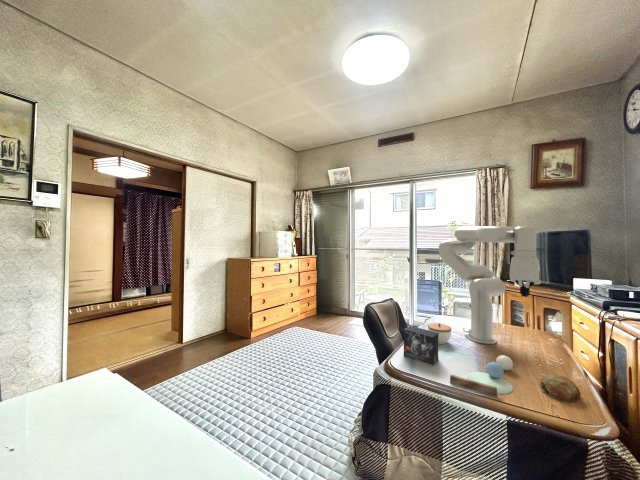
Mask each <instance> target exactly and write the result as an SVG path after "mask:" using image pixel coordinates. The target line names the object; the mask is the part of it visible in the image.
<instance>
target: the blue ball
mask: <svg viewBox="0 0 640 480" xmlns="http://www.w3.org/2000/svg"><path fill="white" fill-rule="evenodd" d="M485 370H486V373H488V374H489V375H490V376H491V377H493V378H502V377H503V376H504V375H505V374H504V372H505V370H503V368H502V367H501V365H499V364H498V363H496V361H495V362H494V361H491V362H488V363H487V364H486V366H485Z"/></svg>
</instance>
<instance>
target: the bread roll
mask: <svg viewBox="0 0 640 480" xmlns="http://www.w3.org/2000/svg"><path fill="white" fill-rule="evenodd" d="M539 383H540V388H541V392H542V393H544V394H545V395H547V396H549V397H551V398H553V399H555V400H557V401H561V402H565V403H571V404H573V403H575V402H576V403H577V402H578V401H579V400H580V399H581V391H580V389H579V387H578V386H577V384H576V383H574V382H573V381H572V380H571V379H570V378H567V377H566V376H563V375H558V374H553V373H552V374H550V373H548V374H544V375H543V376H541V379H540V381H539Z"/></svg>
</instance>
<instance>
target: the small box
mask: <svg viewBox="0 0 640 480" xmlns="http://www.w3.org/2000/svg"><path fill="white" fill-rule="evenodd" d="M438 335H439V333H437V332H433V331H429V330H428V329H425V328H421V327H417V326H413V325H409V326H407V327H406V328H404V329H403V356H404V357H408V358H410V359H413V360H416V361H419V362H421V363H425V364H428V365H431V366H434V365H435V364H436V363H437V362H438V361H439V344H438Z"/></svg>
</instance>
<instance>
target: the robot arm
mask: <svg viewBox="0 0 640 480" xmlns="http://www.w3.org/2000/svg"><path fill="white" fill-rule="evenodd" d="M454 238H455V239H447V240H444V241H441V242H440V243H439V245H438V253H439V256H440V258H441V261H443V262H444V263H445V264H446V265H447V266H449V268H451V269H452V270H453V272H454V273H455V274H457V276H458V277H459V278H460V279H461V280H462V281H463V282H465V283H469V284H468V291H469V296H470V327H467V326H463V327H462V330H463V332H465V333H468V334H467V338H468V340H470V341H472V342H475V343H480V344H484V345H493V344H496V343H497V339H496V338H495V337H494V336H493V329H494V327H493V323H494V322H493V318H494V317H493V313H494V312H493V311H494V309H493V303H492V300H491V298H490V297H498V296H502V295H503V294H504V293H505V292H506V286H505V283H504V282H503V280H502V279H500V277H498V275H496V274H495V273H494V272H493V271H492V270H491V269H490V268H488V267H487V266H485V265H483V264H471V263H469V262H467V261H466V260H465V258H463V257H462V256H460V255H464V254H467V253H468V252H470V251H471V250H472V249H473V248H474V247H475V246H477V244H478V243H495V244H497V243H498V244H500V243H503V244H504V243H506V244H511V243H512V244H514V249H513V250H512V251H510V255H512V257H511V260H510V265H509V266H510V267H509V281H510V282H511V283H515V284H516V285H517V286H518V287H519V294H520V295H521V297H524V298H527V297H529V296H530V289H531V287H532V286H534V285H540V284H541V283H542V281H541V266H540V259H539V258H538V257H537V228H536V227H535V226H532V225H531V226H530V225H525V226H523V225H521V226H503V225H502V226H501V225H499V226H484V225H474V226H473V225H472V226H460V227H458V228H456V230H455V231H454ZM525 282H526V283H525Z"/></svg>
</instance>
